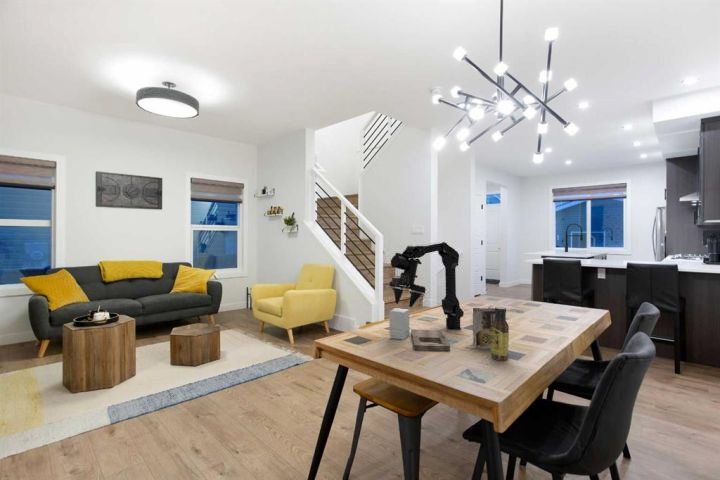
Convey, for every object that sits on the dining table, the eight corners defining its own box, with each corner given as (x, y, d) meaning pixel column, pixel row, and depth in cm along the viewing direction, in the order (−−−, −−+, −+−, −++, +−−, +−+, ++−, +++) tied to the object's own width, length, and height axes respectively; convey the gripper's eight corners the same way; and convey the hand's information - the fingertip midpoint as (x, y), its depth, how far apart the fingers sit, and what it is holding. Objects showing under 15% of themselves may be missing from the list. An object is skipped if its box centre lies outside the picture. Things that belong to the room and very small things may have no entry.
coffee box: (493, 344, 155) (494, 307, 155) (498, 349, 149) (498, 311, 149) (472, 344, 156) (472, 307, 156) (475, 348, 150) (475, 310, 149)
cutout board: (441, 334, 171) (441, 330, 171) (449, 351, 147) (449, 346, 147) (411, 333, 172) (411, 329, 172) (414, 350, 148) (414, 345, 148)
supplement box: (409, 336, 168) (410, 309, 168) (403, 340, 162) (403, 312, 161) (395, 333, 172) (395, 307, 171) (388, 337, 165) (388, 310, 165)
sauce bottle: (488, 355, 141) (488, 305, 141) (503, 355, 142) (503, 305, 141) (495, 361, 135) (496, 309, 134) (511, 361, 136) (512, 308, 135)
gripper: (384, 266, 168) (377, 299, 166) (411, 270, 153) (404, 306, 151) (401, 271, 174) (394, 303, 172) (429, 275, 159) (422, 310, 157)
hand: (403, 305), depth 163 cm, fingers open, 9 cm apart
